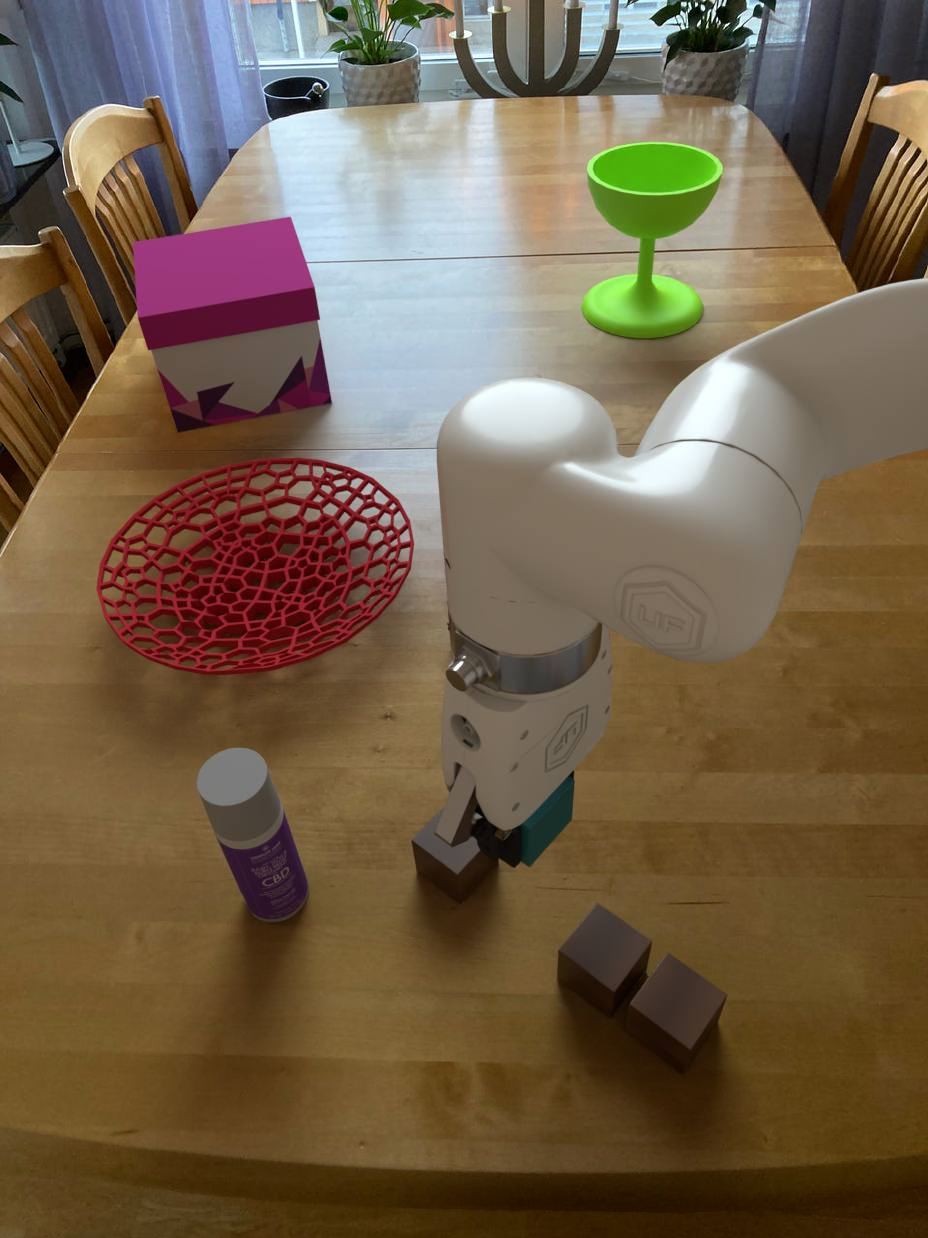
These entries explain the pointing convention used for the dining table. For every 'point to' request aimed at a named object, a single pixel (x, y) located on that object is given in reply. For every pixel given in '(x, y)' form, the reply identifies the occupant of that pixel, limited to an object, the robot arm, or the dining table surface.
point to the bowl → (256, 570)
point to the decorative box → (231, 323)
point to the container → (253, 833)
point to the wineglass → (649, 232)
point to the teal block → (547, 822)
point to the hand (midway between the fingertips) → (524, 822)
